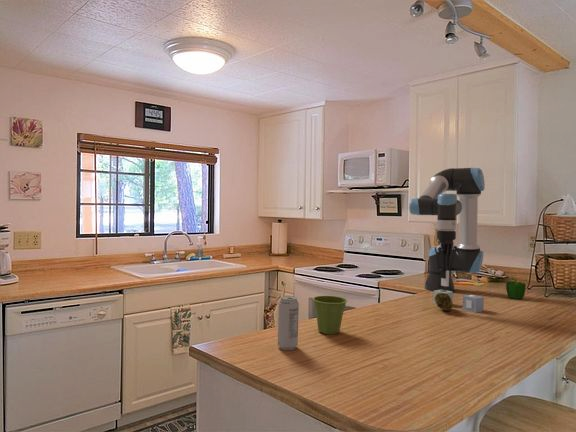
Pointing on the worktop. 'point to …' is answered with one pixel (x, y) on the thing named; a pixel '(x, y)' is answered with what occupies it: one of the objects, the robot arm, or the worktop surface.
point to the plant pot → (329, 313)
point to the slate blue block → (473, 303)
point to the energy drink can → (288, 323)
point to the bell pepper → (515, 289)
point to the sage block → (442, 292)
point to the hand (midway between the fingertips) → (444, 285)
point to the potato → (443, 301)
